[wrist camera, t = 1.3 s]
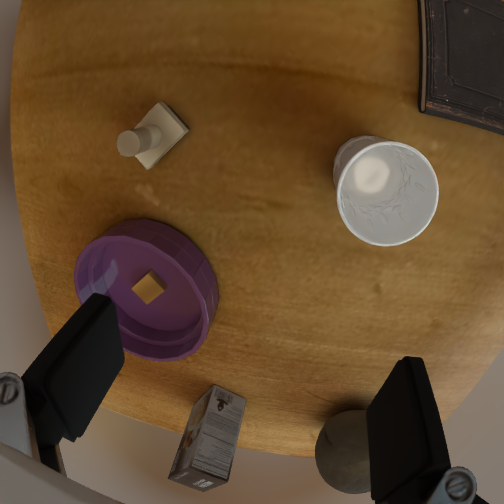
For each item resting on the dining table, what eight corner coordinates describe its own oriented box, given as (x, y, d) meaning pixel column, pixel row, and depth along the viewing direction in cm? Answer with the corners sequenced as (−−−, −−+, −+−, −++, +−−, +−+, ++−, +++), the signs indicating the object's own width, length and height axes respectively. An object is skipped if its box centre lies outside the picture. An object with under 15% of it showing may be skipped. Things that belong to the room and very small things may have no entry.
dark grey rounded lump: (327, 439, 51) (324, 507, 38) (307, 400, 46) (301, 482, 33) (399, 424, 47) (407, 493, 34) (393, 381, 42) (407, 464, 29)
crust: (134, 283, 40) (130, 288, 39) (151, 268, 38) (147, 273, 37) (150, 299, 41) (146, 304, 40) (168, 285, 39) (164, 290, 38)
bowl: (77, 266, 41) (56, 286, 36) (146, 186, 34) (122, 202, 29) (161, 351, 46) (148, 376, 41) (249, 299, 39) (241, 327, 34)
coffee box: (223, 419, 52) (203, 493, 38) (192, 404, 52) (166, 478, 37) (247, 398, 48) (228, 483, 34) (213, 382, 47) (185, 467, 33)
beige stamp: (158, 164, 33) (123, 182, 26) (134, 138, 32) (95, 150, 25) (194, 128, 30) (164, 137, 24) (168, 101, 29) (133, 103, 23)
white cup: (358, 219, 32) (376, 265, 23) (311, 161, 30) (314, 187, 21) (415, 175, 29) (455, 206, 20) (370, 113, 27) (400, 119, 18)
